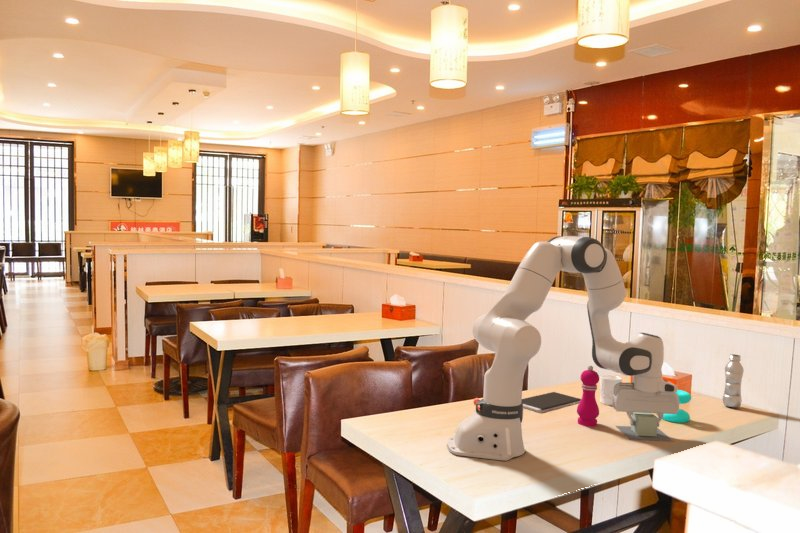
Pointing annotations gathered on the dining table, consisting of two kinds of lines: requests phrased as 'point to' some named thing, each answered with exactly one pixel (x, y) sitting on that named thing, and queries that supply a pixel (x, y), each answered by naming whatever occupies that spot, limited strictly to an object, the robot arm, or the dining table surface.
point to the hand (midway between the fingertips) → (644, 425)
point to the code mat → (632, 436)
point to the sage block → (645, 424)
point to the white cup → (608, 388)
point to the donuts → (681, 415)
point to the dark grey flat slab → (548, 402)
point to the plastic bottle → (733, 382)
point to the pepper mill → (588, 399)
